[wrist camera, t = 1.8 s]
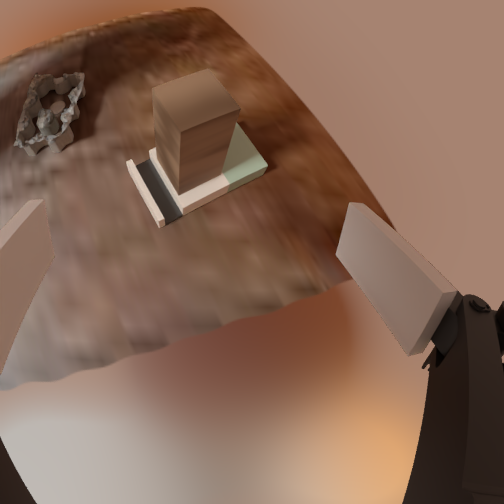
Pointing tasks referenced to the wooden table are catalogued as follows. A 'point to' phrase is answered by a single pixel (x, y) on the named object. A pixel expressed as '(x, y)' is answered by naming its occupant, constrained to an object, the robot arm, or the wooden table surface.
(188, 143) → the walnut block
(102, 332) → the wooden table surface
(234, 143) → the board
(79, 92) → the egg carton
